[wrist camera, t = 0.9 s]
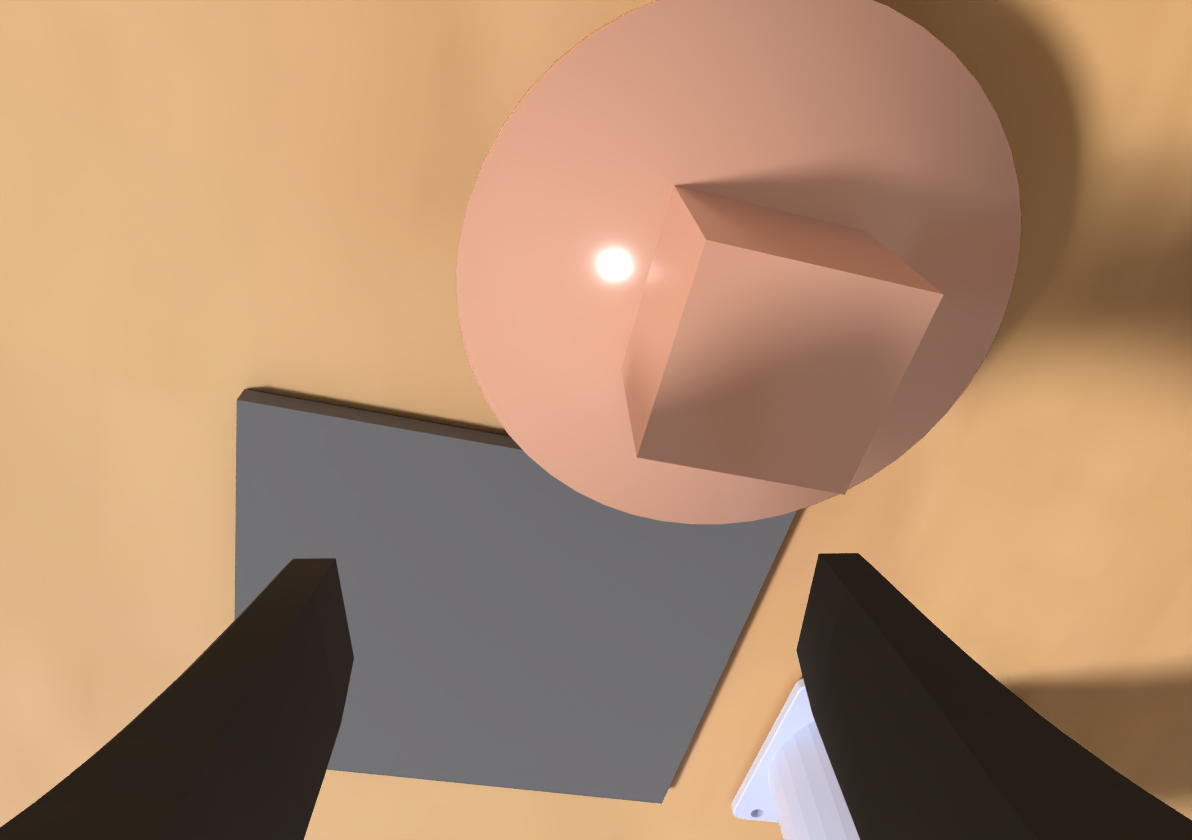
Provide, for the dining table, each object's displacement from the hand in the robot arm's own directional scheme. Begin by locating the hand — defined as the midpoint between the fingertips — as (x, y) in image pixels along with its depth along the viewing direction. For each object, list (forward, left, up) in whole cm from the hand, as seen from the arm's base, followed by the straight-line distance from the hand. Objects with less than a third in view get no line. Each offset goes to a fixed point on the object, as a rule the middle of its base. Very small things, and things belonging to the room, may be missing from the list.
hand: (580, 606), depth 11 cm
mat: (0, +11, -10) cm, 15 cm away
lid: (-3, -3, -7) cm, 8 cm away
